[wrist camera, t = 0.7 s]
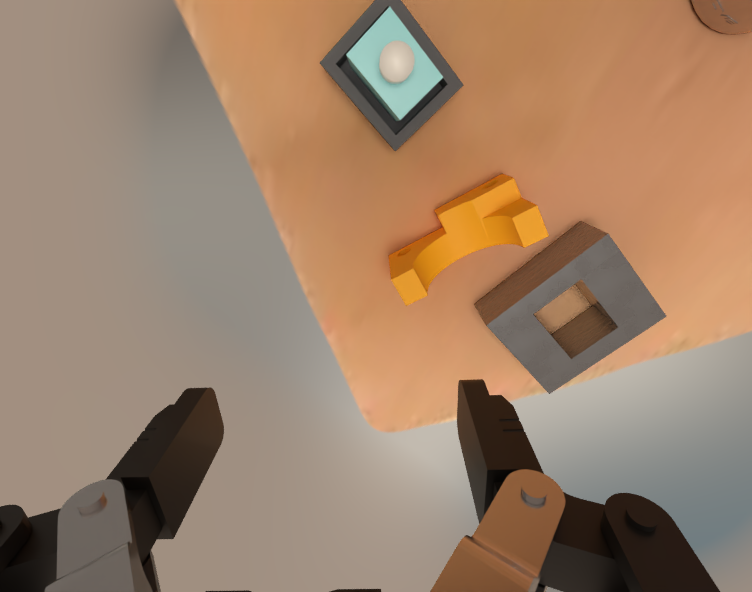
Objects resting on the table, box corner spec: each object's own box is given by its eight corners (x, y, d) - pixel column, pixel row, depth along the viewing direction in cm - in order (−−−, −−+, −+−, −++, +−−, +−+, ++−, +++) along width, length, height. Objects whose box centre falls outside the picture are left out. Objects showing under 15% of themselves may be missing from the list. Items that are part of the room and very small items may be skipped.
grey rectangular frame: (387, -2, 29) (389, -16, 26) (455, 88, 31) (463, 85, 28) (324, 68, 31) (319, 62, 28) (393, 149, 33) (395, 151, 30)
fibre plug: (386, 30, 29) (391, -4, 21) (429, 86, 31) (449, 73, 23) (351, 69, 30) (344, 48, 22) (395, 121, 32) (402, 119, 24)
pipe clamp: (501, 173, 34) (528, 183, 28) (519, 217, 35) (548, 235, 30) (379, 238, 36) (380, 260, 30) (401, 277, 38) (406, 305, 32)
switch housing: (580, 221, 35) (608, 233, 31) (634, 296, 38) (666, 316, 34) (474, 304, 39) (486, 325, 34) (531, 367, 42) (549, 393, 37)
